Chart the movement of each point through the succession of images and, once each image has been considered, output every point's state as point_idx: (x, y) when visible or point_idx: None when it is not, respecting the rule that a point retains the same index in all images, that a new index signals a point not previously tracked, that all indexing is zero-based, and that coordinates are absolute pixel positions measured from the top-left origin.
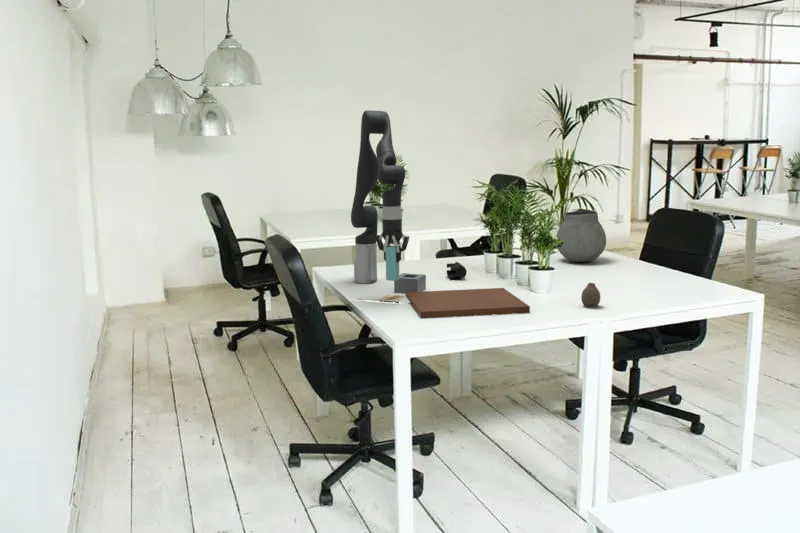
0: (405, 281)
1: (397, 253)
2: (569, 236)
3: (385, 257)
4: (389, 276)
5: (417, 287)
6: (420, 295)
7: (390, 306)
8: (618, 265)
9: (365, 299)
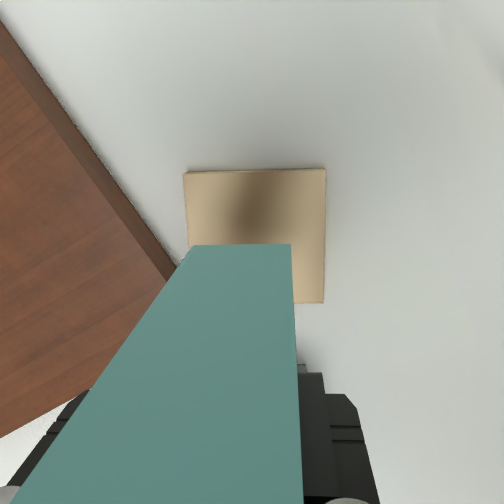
0: None
1: None
2: None
3: (321, 410)
4: (252, 257)
5: None
6: (69, 272)
7: (193, 54)
8: None
9: (441, 190)
